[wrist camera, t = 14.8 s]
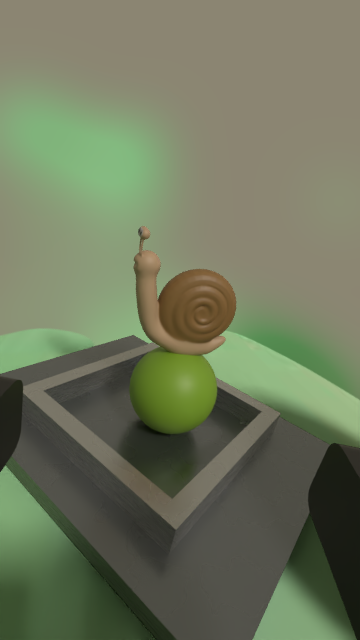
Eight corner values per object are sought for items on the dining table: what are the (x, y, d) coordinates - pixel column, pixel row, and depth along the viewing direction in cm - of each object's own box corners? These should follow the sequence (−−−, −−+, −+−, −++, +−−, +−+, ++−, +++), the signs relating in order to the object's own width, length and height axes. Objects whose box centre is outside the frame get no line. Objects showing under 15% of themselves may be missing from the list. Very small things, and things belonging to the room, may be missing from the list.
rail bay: (-49, 401, 21) (-51, 367, 20) (131, 344, 33) (135, 321, 32) (219, 711, 11) (240, 669, 10) (332, 460, 23) (346, 432, 22)
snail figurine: (106, 395, 23) (133, 219, 19) (193, 399, 25) (236, 239, 21) (108, 455, 18) (146, 235, 14) (216, 454, 20) (278, 259, 16)
